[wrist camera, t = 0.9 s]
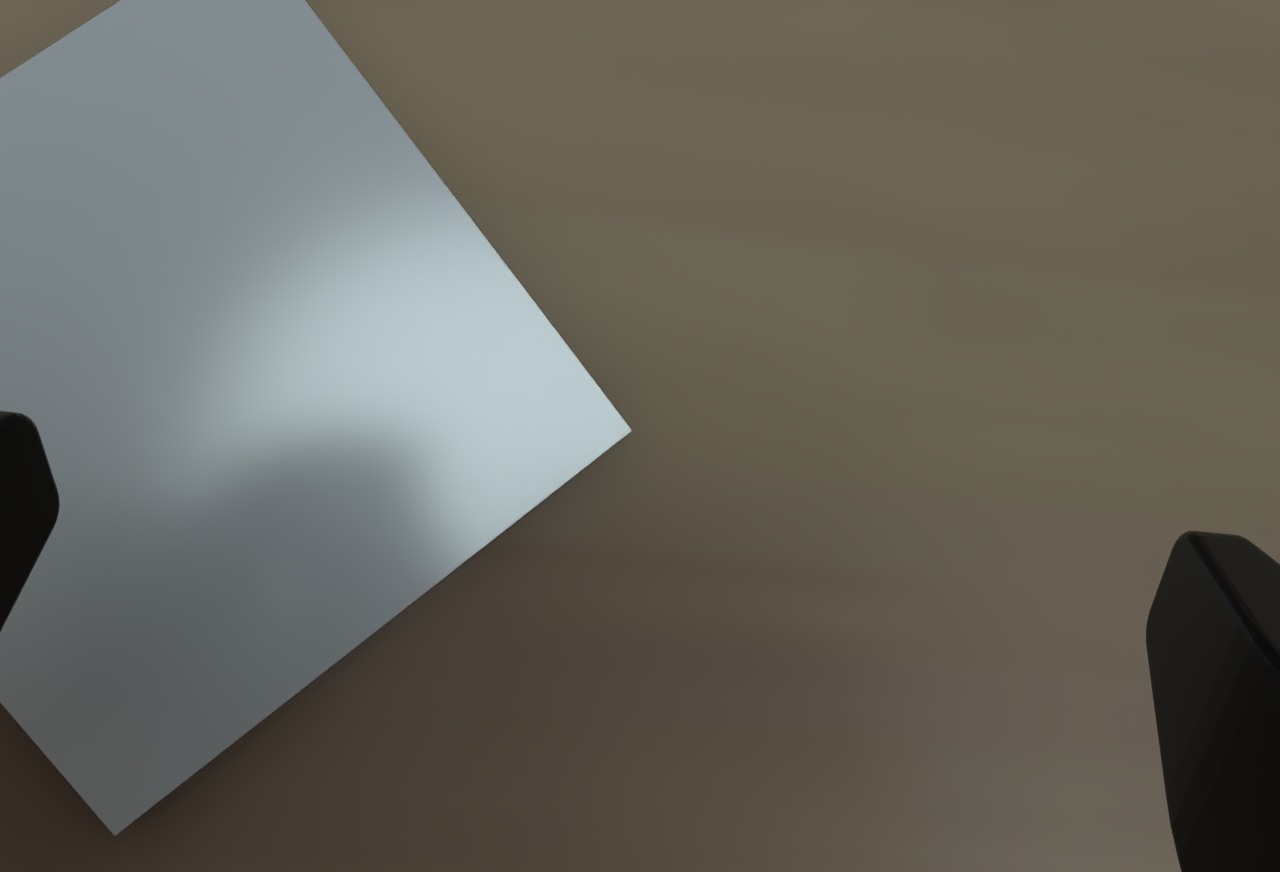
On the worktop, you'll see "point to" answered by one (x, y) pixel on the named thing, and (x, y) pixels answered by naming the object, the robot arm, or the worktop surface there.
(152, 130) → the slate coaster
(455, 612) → the worktop surface
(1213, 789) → the robot arm
